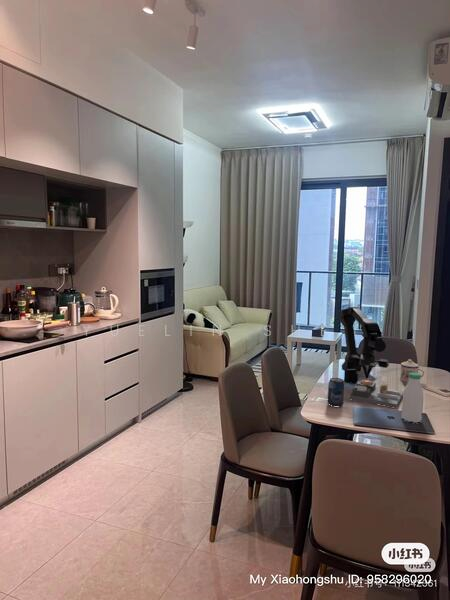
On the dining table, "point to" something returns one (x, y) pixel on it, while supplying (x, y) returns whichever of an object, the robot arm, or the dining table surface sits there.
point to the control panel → (376, 395)
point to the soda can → (336, 392)
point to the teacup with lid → (408, 370)
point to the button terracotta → (366, 382)
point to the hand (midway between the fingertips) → (367, 377)
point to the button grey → (362, 388)
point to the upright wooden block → (383, 388)
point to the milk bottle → (413, 399)
